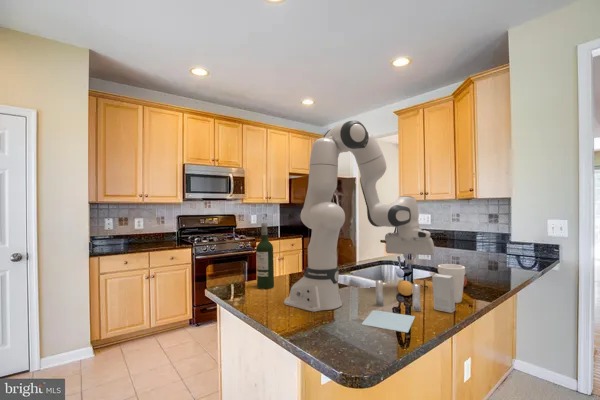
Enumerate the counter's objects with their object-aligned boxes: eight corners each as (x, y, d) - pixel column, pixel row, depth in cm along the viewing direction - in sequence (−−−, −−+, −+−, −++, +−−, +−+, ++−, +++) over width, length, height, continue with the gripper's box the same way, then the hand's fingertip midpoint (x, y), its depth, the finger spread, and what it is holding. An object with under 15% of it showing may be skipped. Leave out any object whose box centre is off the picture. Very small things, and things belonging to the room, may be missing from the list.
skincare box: (455, 310, 105) (454, 275, 106) (451, 313, 102) (450, 277, 102) (437, 306, 110) (436, 273, 110) (432, 309, 106) (431, 275, 107)
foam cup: (469, 304, 111) (468, 269, 111) (442, 303, 112) (441, 268, 113) (461, 296, 120) (460, 264, 120) (436, 296, 122) (435, 263, 122)
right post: (412, 310, 106) (411, 284, 106) (413, 308, 108) (412, 283, 108) (420, 311, 105) (419, 285, 105) (421, 309, 107) (420, 283, 107)
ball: (396, 296, 122) (396, 281, 123) (399, 292, 128) (399, 278, 128) (412, 298, 120) (411, 283, 120) (414, 294, 125) (414, 279, 125)
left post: (375, 305, 112) (374, 281, 112) (377, 303, 115) (376, 279, 115) (382, 306, 111) (381, 281, 111) (384, 304, 113) (383, 280, 114)
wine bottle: (254, 288, 140) (252, 223, 140) (261, 284, 147) (260, 222, 148) (269, 289, 137) (268, 223, 138) (276, 285, 144) (275, 222, 145)
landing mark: (361, 324, 95) (361, 324, 95) (373, 310, 107) (373, 310, 107) (407, 332, 88) (407, 332, 88) (415, 316, 100) (415, 316, 100)
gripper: (383, 233, 135) (384, 264, 135) (432, 233, 125) (434, 267, 125) (386, 231, 141) (387, 261, 141) (434, 232, 131) (435, 264, 131)
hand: (410, 264), depth 133 cm, fingers closed
